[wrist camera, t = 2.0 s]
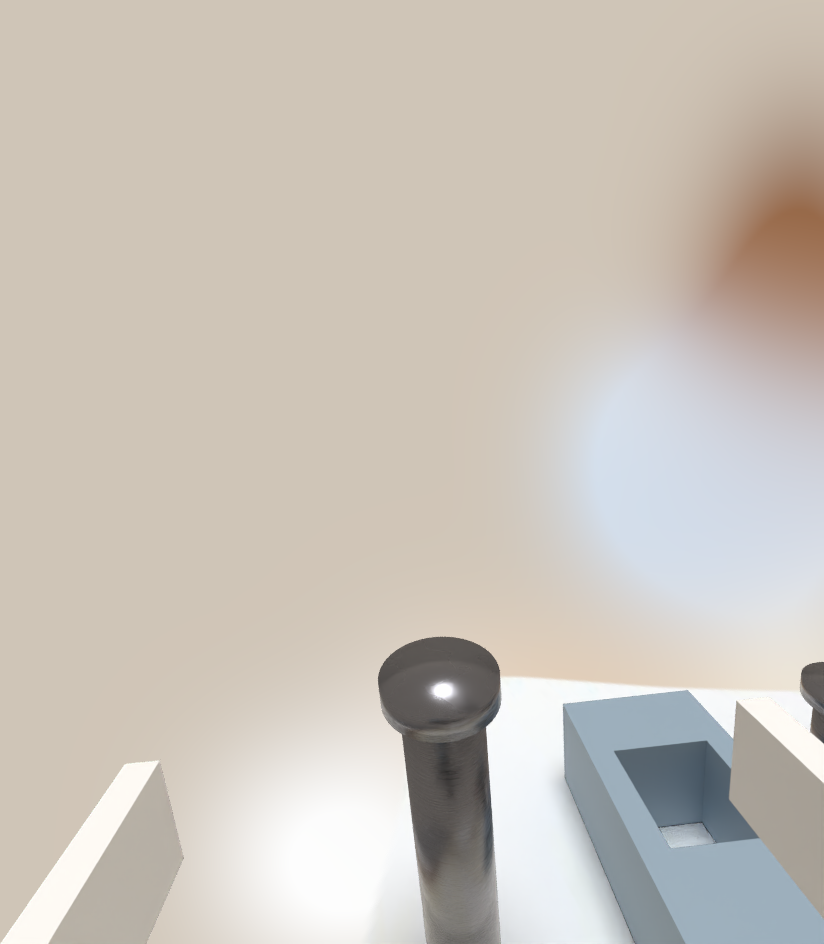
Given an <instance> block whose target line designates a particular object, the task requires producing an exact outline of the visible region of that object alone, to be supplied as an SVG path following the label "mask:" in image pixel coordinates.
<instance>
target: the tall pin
mask: <svg viewBox="0 0 824 944" xmlns="http://www.w3.org/2000/svg"><path fill="white" fill-rule="evenodd" d="M378 685H379V692H380V701H381V708H382V712H383V714H384V716H385V718H386V720H387V721H388V723H389V724H390V725H391V726H392V727H393V728H394V729H396V730H397V731H398V732H400V733H401V734H402V738H403V745H404V755H405V763H406V772H407V781H408V789H409V798H410V806H411V815H412V823H413V832H414V840H415V849H416V857H417V866H418V874H419V883H420V891H421V900H422V908H423V917H424V925H425V934H426V942H427V944H501V938H500V924H499V909H498V895H497V881H496V866H495V852H494V837H493V823H492V809H491V794H490V780H489V765H488V751H487V737H486V726H487V725H488V724H490V723H491V722H492V720H493V719H494V718H495V716H496V714H497V713H498V711H499V708H500V705H501V685H500V670H499V666H498V664H497V662H496V660H495V659H494V657H493V656H492V655H491V654H490V653H489V652H488V651H487V650H486V649H484V648H483V647H481V646H480V645H478V644H476V643H474V642H471V641H468V640H464V639H460V638H454V637H433V638H426V639H421V640H418V641H414V642H412V643H409V644H407V645H405V646H403V647H401V648H399V649H398V650H396V651H395V652H394V653H392V654H391V655H390V656H389V657H388V658H387V659H386V661H385V662H384V663H383V665H382V667H381V669H380V672H379V676H378Z"/></svg>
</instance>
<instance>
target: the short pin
mask: <svg viewBox="0 0 824 944" xmlns="http://www.w3.org/2000/svg"><path fill="white" fill-rule="evenodd" d="M800 692H801V694H802V696H803V698H804V699H805V700H806V701H807V702H808V703H809V704H810V705H811V706H812V707H813V711H812V720H811V729H810V732H811V733H812V734H813V735H814V736H815V737H816V738H818V739H819V740H820V741H821V742H822V743H823V744H824V662H817V663H812V664H809V665H807V666H805V667H804V668H803V670H802V673H801V682H800Z"/></svg>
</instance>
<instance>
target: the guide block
mask: <svg viewBox="0 0 824 944" xmlns="http://www.w3.org/2000/svg"><path fill="white" fill-rule="evenodd" d="M563 724H564V763H565V779H566V781H567V783H568V786H569V788H570V791H571V793H572V795H573V798H574V800H575V802H576V805H577V807H578V809H579V812H580V814H581V817H582V819H583V821H584V824H585V826H586V828H587V831H588V833H589V835H590V838H591V840H592V842H593V845H594V847H595V850H596V852H597V854H598V857H599V859H600V861H601V864H602V866H603V868H604V871H605V873H606V876H607V878H608V880H609V883H610V885H611V887H612V890H613V892H614V894H615V897H616V899H617V902H618V904H619V906H620V909H621V911H622V913H623V916H624V918H625V920H626V923H627V925H628V928H629V930H630V932H631V935H632V937H633V939H634V942H635V944H824V919H823V918H822V916H821V915H820V914H819V913H818V911H817V910H816V909H815V907H814V906H813V905H812V904H811V902H810V901H809V900H808V899H807V897H806V896H805V895H804V894H803V892H802V891H801V890H800V888H799V887H798V886H797V885H796V883H795V882H794V881H793V880H792V878H791V877H790V876H789V875H788V873H787V872H786V871H785V869H784V868H783V867H782V866H781V864H780V863H779V862H778V861H777V859H776V858H775V857H774V856H773V854H772V853H771V852H770V850H769V849H768V848H767V847H766V845H765V844H764V843H763V842H762V840H761V839H760V838H759V837H758V835H757V834H756V833H755V831H754V830H753V829H752V828H751V826H750V825H749V824H748V823H747V821H746V820H745V819H744V818H743V816H742V815H741V814H740V812H739V811H738V810H737V809H736V807H735V806H734V805H733V804H732V802H731V801H730V800H729V792H730V779H731V766H732V753H733V739H732V738H731V736H730V735H729V734H728V733H727V732H726V731H725V730H724V729H723V728H722V727H721V726H720V725H719V724H718V722H717V721H716V720H715V719H714V718H713V717H712V716H711V715H710V714H709V713H708V712H707V711H706V710H705V708H704V707H703V706H702V705H701V704H700V703H699V702H698V701H697V700H696V699H695V698H694V697H693V696H692V694H691V693H690V692H689V691H688V690H685V691H676V692H667V693H658V694H649V695H640V696H631V697H622V698H613V699H604V700H595V701H586V702H577V703H568V704H563ZM698 822H702V823H703V824H704V826H705V827H706V828H707V830H708V831H709V833H710V834H711V836H712V837H713V839H714V840H715V842H716V843H714V844H706V845H697V846H689V847H680V848H672V849H670V847H669V845H668V844H667V842H666V840H665V838H664V837H663V835H662V833H661V831H660V830H659V828H658V827H663V826H672V825H680V824H689V823H698Z"/></svg>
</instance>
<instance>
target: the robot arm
mask: <svg viewBox="0 0 824 944" xmlns="http://www.w3.org/2000/svg"><path fill="white" fill-rule="evenodd" d="M729 800H730V801H731V802H732V804H733V805H734V806H735V807H736V809H737V810H738V811H739V812H740V814H741V815H742V816H743V818H744V819H745V820H746V821H747V823H748V824H749V825H750V826H751V828H752V829H753V830H754V831H755V833H756V834H757V835H758V837H759V838H760V839H761V840H762V842H763V843H764V844H765V845H766V847H767V848H768V849H769V850H770V852H771V853H772V854H773V856H774V857H775V858H776V859H777V861H778V862H779V863H780V864H781V866H782V867H783V868H784V869H785V871H786V872H787V873H788V875H789V876H790V877H791V878H792V880H793V881H794V882H795V883H796V885H797V886H798V887H799V888H800V890H801V891H802V892H803V894H804V895H805V896H806V897H807V899H808V900H809V901H810V902H811V904H812V905H813V906H814V907H815V909H816V910H817V911H818V913H819V914H820V915H821V916H822V918H823V919H824V744H823V743H822V742H821V741H820V740H819V739H818V738H816V737H815V736H814V735H813V734H812V733H811V732H809V731H808V730H807V729H806V728H805V727H804V726H802V725H801V724H800V723H799V722H798V721H797V720H795V719H794V718H793V717H792V716H791V715H790V714H789V713H787V712H786V711H785V710H784V709H783V708H782V707H780V706H779V705H778V704H777V703H776V702H775V701H773V700H772V699H771V698H770V697H765V698H756V699H746V700H737V701H736V714H735V727H734V740H733V753H732V766H731V779H730V792H729ZM183 859H184V857H183V853H182V849H181V845H180V841H179V837H178V833H177V829H176V825H175V820H174V817H173V812H172V808H171V804H170V800H169V796H168V792H167V788H166V784H165V780H164V776H163V772H162V768H161V764H160V761H150V762H141V763H130V764H125V765H124V766H123V768H122V769H121V771H120V772H119V774H118V775H117V777H116V778H115V779H114V781H113V783H112V784H111V785H110V787H109V788H108V790H107V791H106V792H105V794H104V795H103V797H102V798H101V800H100V801H99V803H98V804H97V806H96V807H95V808H94V810H93V811H92V813H91V814H90V816H89V817H88V818H87V820H86V821H85V823H84V824H83V826H82V827H81V828H80V830H79V831H78V833H77V834H76V836H75V837H74V839H73V840H72V842H71V843H70V844H69V846H68V847H67V849H66V850H65V852H64V853H63V855H62V856H61V857H60V859H59V860H58V862H57V863H56V865H55V866H54V868H53V869H52V870H51V872H50V873H49V875H48V876H47V878H46V879H45V880H44V882H43V883H42V885H41V886H40V888H39V889H38V890H37V892H36V893H35V895H34V896H33V898H32V899H31V901H30V902H29V903H28V905H27V906H26V908H25V909H24V911H23V912H22V914H21V915H20V917H19V918H18V919H17V921H16V922H15V924H14V925H13V927H12V928H11V929H10V931H9V932H8V934H7V935H6V937H5V938H4V939H3V941H2V942H1V944H146V943H147V941H148V938H149V936H150V934H151V932H152V929H153V927H154V925H155V922H156V920H157V918H158V916H159V913H160V911H161V909H162V907H163V904H164V902H165V900H166V897H167V895H168V893H169V891H170V888H171V886H172V884H173V881H174V879H175V877H176V875H177V872H178V870H179V868H180V865H181V863H182V861H183Z"/></svg>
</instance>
